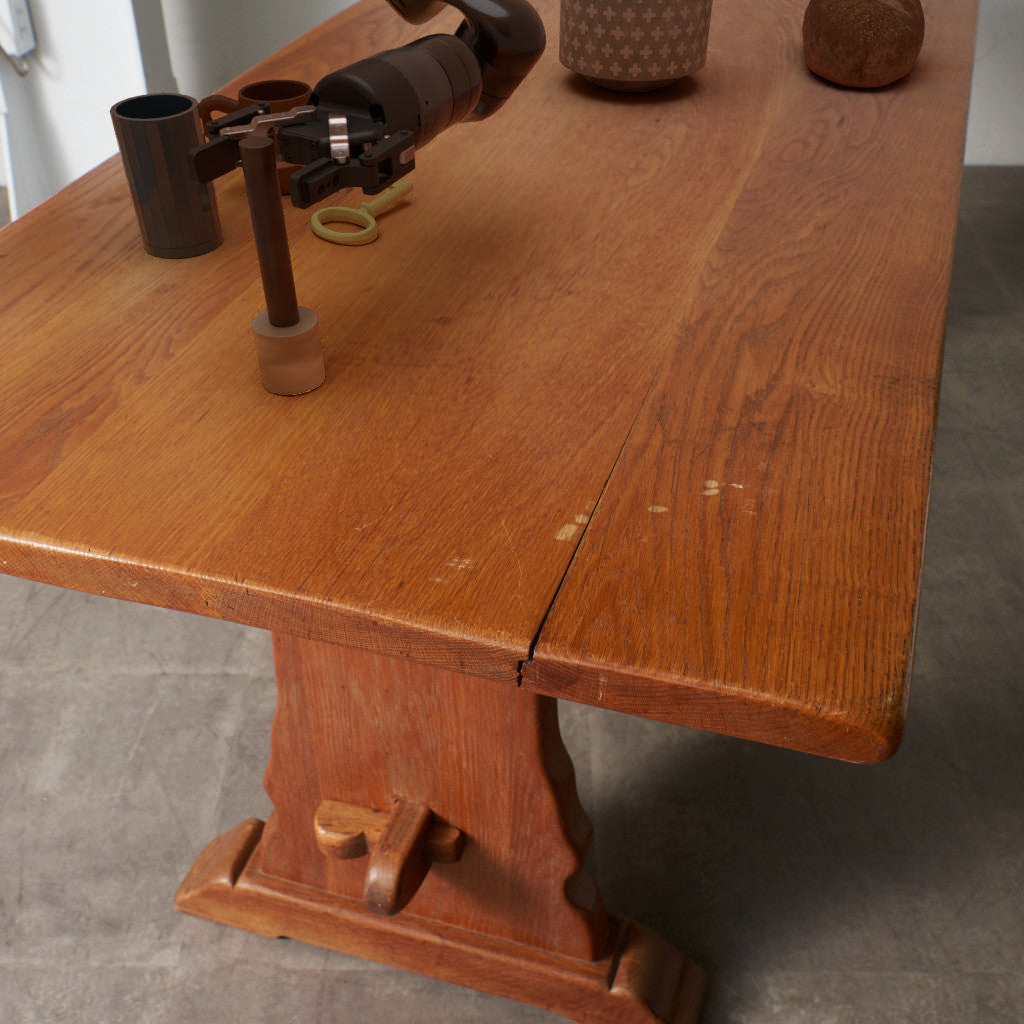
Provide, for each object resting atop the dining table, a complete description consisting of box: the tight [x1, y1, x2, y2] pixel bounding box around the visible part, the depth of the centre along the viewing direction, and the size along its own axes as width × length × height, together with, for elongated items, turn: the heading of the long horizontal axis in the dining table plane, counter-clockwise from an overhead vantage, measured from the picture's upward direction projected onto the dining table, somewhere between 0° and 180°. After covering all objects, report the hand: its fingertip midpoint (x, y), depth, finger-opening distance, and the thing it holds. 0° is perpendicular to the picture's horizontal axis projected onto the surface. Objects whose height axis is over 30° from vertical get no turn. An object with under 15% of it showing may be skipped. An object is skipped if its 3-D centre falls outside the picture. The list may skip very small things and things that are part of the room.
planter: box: [558, 0, 714, 93], centre depth 127 cm, size 19×19×18 cm
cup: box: [109, 92, 225, 259], centre depth 92 cm, size 7×7×12 cm
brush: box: [238, 136, 327, 396], centre depth 71 cm, size 5×5×18 cm
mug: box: [198, 79, 313, 195], centre depth 104 cm, size 12×8×9 cm, turn 97°
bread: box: [801, 0, 926, 89], centre depth 137 cm, size 16×29×11 cm, turn 167°
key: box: [310, 179, 415, 246], centre depth 99 cm, size 7×12×2 cm, turn 161°
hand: (242, 181), depth 65 cm, fingers open, 8 cm apart
